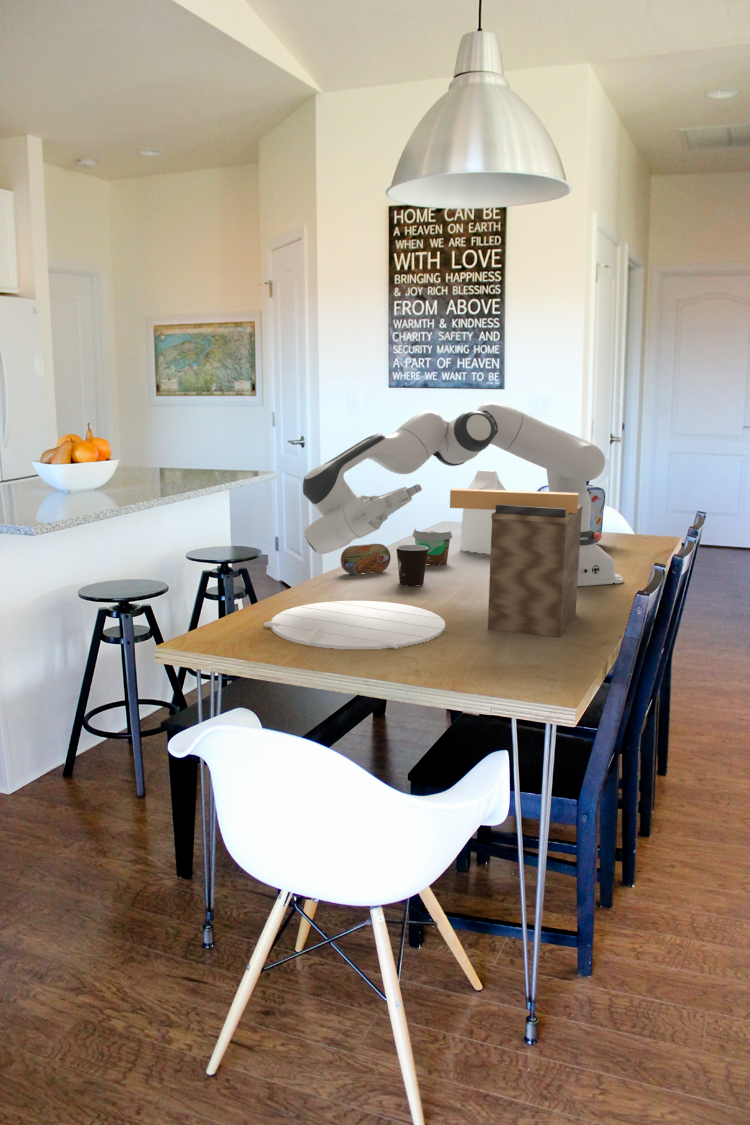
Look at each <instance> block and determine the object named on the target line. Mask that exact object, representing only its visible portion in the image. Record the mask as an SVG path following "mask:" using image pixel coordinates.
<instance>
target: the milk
mask: <svg viewBox="0 0 750 1125" xmlns="http://www.w3.org/2000/svg"><path fill="white" fill-rule="evenodd" d="M467 489H487V490H506V488H505V487H504V485H503V483H502V481H501V480H500V478H499V475H498V472H497V471H496V470H485V469H484V470H483V469H478V470H477V472H476V474H475V476H474V478H473V480H472V481H471V483H470V485H469V486H468V488H467ZM494 512H496V510H488V509H464V508H462V519H461V531H460V539H459V540H460V542H459V551H460V550H463V551H462V552H465V551H470V552H469V553H474V552H477V553H476V554H482V553H486V554H485V555H490V554H491V531H492V518H491V517H492V513H494Z"/></svg>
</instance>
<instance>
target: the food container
mask: <svg viewBox="0 0 750 1125" xmlns="http://www.w3.org/2000/svg"><path fill="white" fill-rule="evenodd" d="M416 529H417V528H414V530H413V532H412V538H414V543H415V544H414V545H421V546H426V547H428V554H427V561H426V564H430V565H429V566H440V565H439V564H444V565H446V564H445V563H447V564H448V558H449V557H448V556H449V549H450V542H451V539H453V535H452V531H450V530H449V531H446V532H436V531H419V530H416Z"/></svg>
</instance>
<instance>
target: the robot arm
mask: <svg viewBox="0 0 750 1125" xmlns="http://www.w3.org/2000/svg"><path fill="white" fill-rule="evenodd" d="M489 445H493V446H495V447H496V448H499V449H501V450H503V451H505V452H508V453H509V454H511V455H514V456H516V457H518V458H519V459H522V460H524V461H527V462H529V463H532V464H533V465H537V466H538V467H541V468H544V469H545V470H546V476H547V485H548V486H549V492H567V493H578V505H581V506H582V516H581V533H580V550H579V567H578V584H577V587H584V586H585V587H587V586H588V587H589V586H599V585H612V584H613V583H615V584H622V583H624V579H623V577H622V575H620V574H618V573H616V567H615V562H614V559H613V557H612V556H610V554H608V553H607V552H606V551H604V550H603V549H602V548H601V547H600V546H599V545H597V543H595V539H596V540H598V542H599V541H601V540H602V539H603V535H602V534H601V535H600V533H598V532H596V533H594V532H593V531H591V530H590V513H591V501H590V498H589V495H588V492H587V487H586V481H593V480H595V479H597V478H598V477H600V476H601V474H602V473H603V471H604V469H605V465H606V458H605V456H604V453H603V452H602V450H601V449H600V448H599V447H598V446H596V444H594V443H592V442H590V441H587V440H586V439H583V438H582V437H579V436H576V435H575V434H571V433H569V432H568V431H567V432H566V431H565V430H562V429H560V428H557V427H555V426H553V425H550V424H547V423H546V422H543V421H541V420H539V419H537V418H535V417H533V416H530V415H528V414H527V413H524V412H523V411H521V410H518V409H515V408H513V407H510V406H508V405H504V404H501V403H498V402H492V401H487V402H484V403H483V404H481V405H480V406H479V407H478V408H477V409H476V410H470V411H466V412H463V413H461V414H460V415H459V416H457V417H456V418H453V420H451V421H450V422H449V421H447V420H444V418H443V417H442V416H441V415H440V414H438V412H435V411H433V410H424V411H420V412H419V413H417V414H416V415H415V416H412V417H411V418H410V419H408V420H407V421H406V422H404V423H403V424H402V425H401V426H399V428H397V430H395V431H394V432H392V433H391V434H387V435H386V434H384V433H381V432H380V433H376V434H373V435H370V436H368V437H366V438H364V439H363V440H361V441H359V442H357V443H356V444H353V445H352V446H350V447H349V448H348V449H346V450H345V451H343V452H341V453H340V454H338V455H337V456H335V457H333V458H332V459H330V460H329V461H327V462H325V463H323V464H321V465H319V466H317V467H315V468H313V469H311V470H310V471H309V472H308V473H307V474H306V475H305V476H304V478H303V482H302V494H303V495H304V496H305V498H306V499H308V501H309V502H310V503H312V505H313V506H314V507H315V508H316V509H317V511H318V512H319V514H320V515H321V517H319V518H318V519H316V520H315V521H314V522H312V523H311V524H309V525H308V526H307V527H305V529H304V537H305V539H306V541H307V543H308V545H309V547H311V549H312V550H313V551H314V552H315V553H316V554H318V555H326V554H329V553H332V552H334V551H337V550H339V549H341V548H344V547H346V546H348V545H349V544H350V543H351V542H352V541H354V540H357V539H360V538H364V537H366V536H367V535H369V534H372V533H373V532H375V531H378V530H379V529H380V528H381V526H382V525H383V523H384V522H385V521H387V520H388V518H389V516H390V515H392V514H393V513H395V512H396V511H398V510H400V509H402V507H404V506H406V505H408V504H409V503H410V502H411V501H412V499H413V496H414V495H416V494H417V493H420V492H421V491H422V490H423V489H422V488H423V487H422V486H421V484H419V483H417V484H415V485H412V486H410V487H406V486H405V487H404V486H403V487H400V488H398V489H395V490H393V491H392V490H391V491H389V492H387V493H384V494H382V495H371V496H366V495H360V496H357V495H356V494H355V493H354V491H353V489H351V487H350V486H349V483H347V481H345V478H344V474H345V473H346V472H348V471H349V470H351V469H353V468H354V467H356V466H357V465H359V464H360V463H362V462H363V461H365V460H366V459H369V460H371V461H373V462H374V463H377V464H378V465H379V466H381V467H383V468H384V469H385V470H388V471H389V472H392V473H394V474H399V475H408V474H413V473H415V472H416V471H417V470H419V469H420V468H421V467H422V466H423V465H424V464H426V462H427V461H428V460H429V459H431V457H432V456H433V457H435V458H436V459H437V460H438V461H439V462H441V463H442V464H443V465H445V466H449V467H456V466H457V467H458V466H461V465H463V464H466V462H468V461H470V460H472V459H474V458H476V456H478V454H480V453H481V452H482V451H484V450H485V449H487V448H488V446H489Z"/></svg>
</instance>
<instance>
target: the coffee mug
mask: <svg viewBox="0 0 750 1125" xmlns="http://www.w3.org/2000/svg"><path fill="white" fill-rule="evenodd" d="M427 554H428V547H426V546H421V545H415V544H404V545H403V544H401V545H397V546H396V556H397V557H396V560H397V569H398V578H399V585H400V584H402V585H401V586H403V585H408V586H407V587H419V586H418V585H421V586H423V585H424V581H425V574H426V568H427V565H426V561H427ZM422 584H423V585H422ZM416 585H417V586H416Z"/></svg>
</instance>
